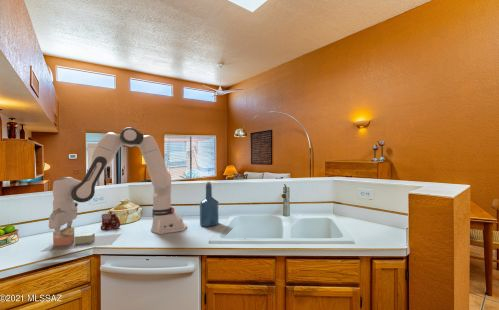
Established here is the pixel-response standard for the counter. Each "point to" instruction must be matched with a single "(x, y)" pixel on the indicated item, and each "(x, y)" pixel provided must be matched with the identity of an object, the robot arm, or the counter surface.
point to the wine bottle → (209, 209)
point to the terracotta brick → (63, 241)
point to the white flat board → (97, 242)
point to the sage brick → (84, 238)
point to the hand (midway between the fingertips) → (64, 231)
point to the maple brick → (64, 233)
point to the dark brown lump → (110, 221)
